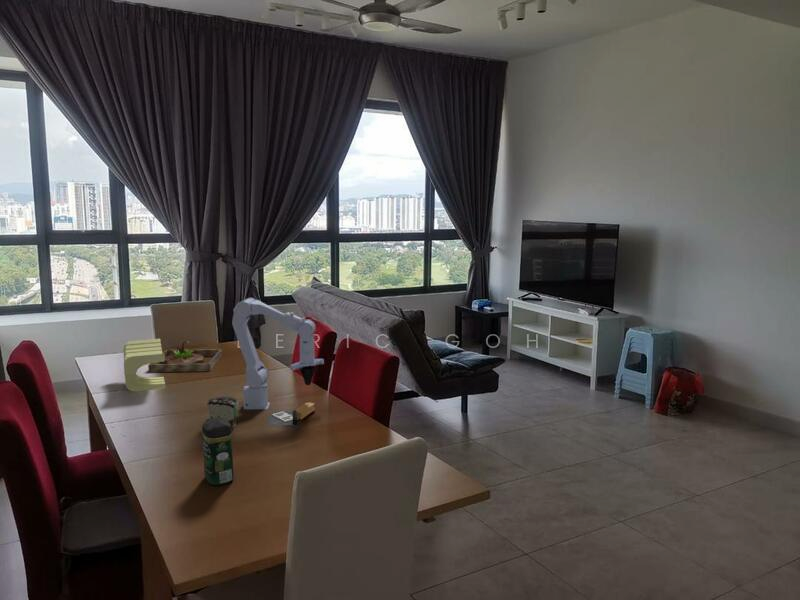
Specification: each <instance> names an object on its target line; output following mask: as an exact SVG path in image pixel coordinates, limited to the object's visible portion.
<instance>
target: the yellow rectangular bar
mask: <svg viewBox="0 0 800 600" xmlns="http://www.w3.org/2000/svg"><path fill="white" fill-rule="evenodd" d="M316 409H317V406H316V402H311V401H310V402H309V401H307V402H306V403H303V404H302V405H301V406H300V407H298V408H297V409H295V410H296V411H297V419H301V420H303V419H304V418H306V417H308V416H309V415H310V414H311V413H312V412H314V411H315V410H316Z"/></svg>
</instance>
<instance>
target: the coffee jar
mask: <svg viewBox="0 0 800 600" xmlns="http://www.w3.org/2000/svg"><path fill="white" fill-rule="evenodd" d="M201 427H202V428H201V429H202V430H201V431H202V432H201V433H202V448H203V468H204V469H203V470H204V473H203V474H204V478H205V480H206V481H207V483H208V484H209V485H212V486H222V485H225V484H228V483H230V482H232V481H233V480H234V478H235V475H234V458H233V457H234V456H233V441H232V440H233V431H232V430H233V429H231V425H230V423H229V422H228V421H227V420H225V419H223V418H220V417H215V418H207V419H206V420H205V421H203V422H202V425H201Z"/></svg>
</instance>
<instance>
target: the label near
mask: <svg viewBox="0 0 800 600" xmlns="http://www.w3.org/2000/svg"><path fill="white" fill-rule="evenodd" d="M279 419H280V420H282V421H284V422H289V421H293V416H291V415H287V416H283V417H280V418H279Z"/></svg>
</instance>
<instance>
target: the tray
mask: <svg viewBox="0 0 800 600" xmlns="http://www.w3.org/2000/svg"><path fill="white" fill-rule="evenodd" d="M296 410H297V409H294V410H292V411H291V410H289V411H288V410H287V411H282V412H285V413H287V414H289V415H291V416H293V421H289V422H284V421H282V420H280V419H278V418H276V417H274V416H272V414H275V413H279V412H280V411H271V413H270V416H269V419H268V421H267V423H266V426H267V427H273V426H274V427H277V426H281V427H282V426H283V427H284V426H300V425H301V421H302V419H297V411H296Z"/></svg>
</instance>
